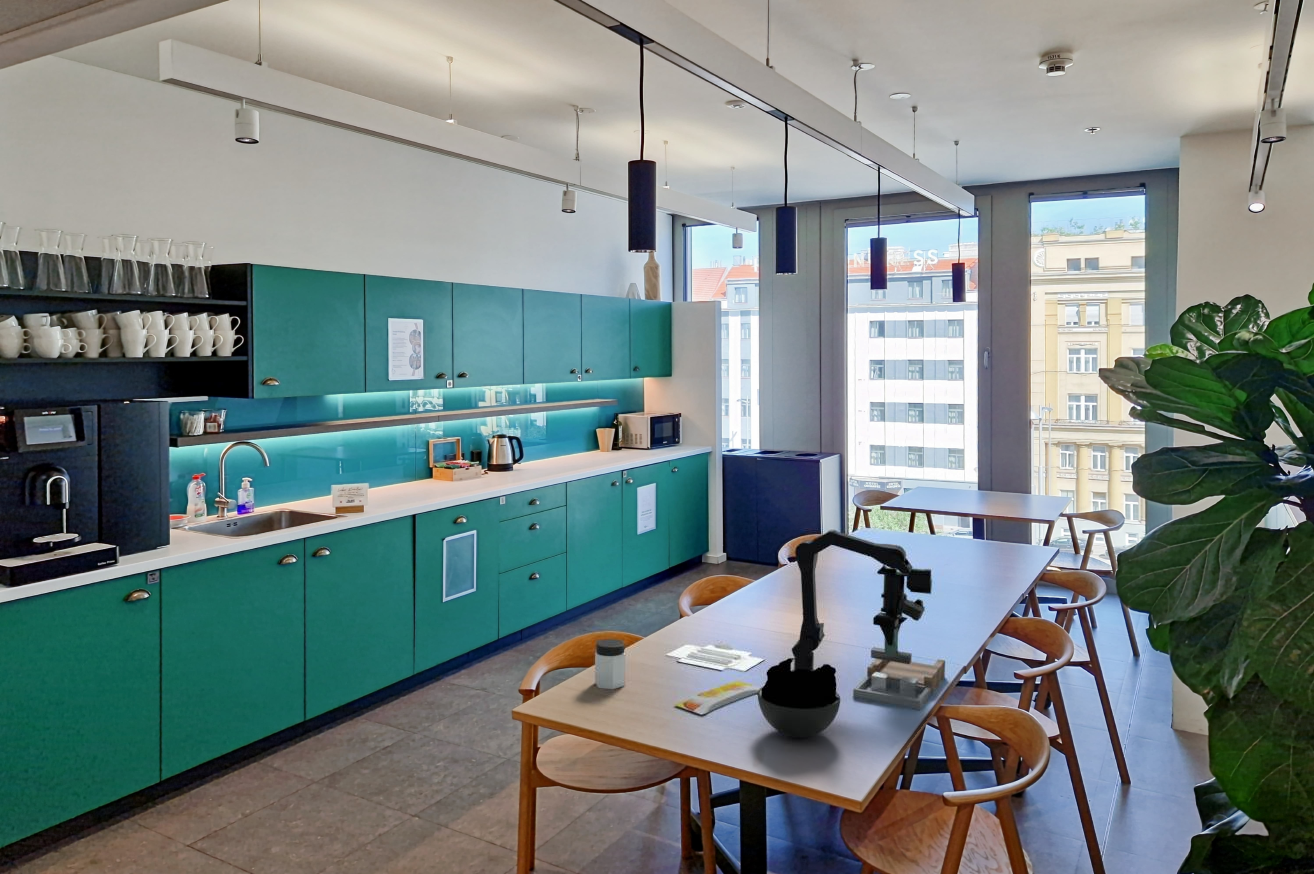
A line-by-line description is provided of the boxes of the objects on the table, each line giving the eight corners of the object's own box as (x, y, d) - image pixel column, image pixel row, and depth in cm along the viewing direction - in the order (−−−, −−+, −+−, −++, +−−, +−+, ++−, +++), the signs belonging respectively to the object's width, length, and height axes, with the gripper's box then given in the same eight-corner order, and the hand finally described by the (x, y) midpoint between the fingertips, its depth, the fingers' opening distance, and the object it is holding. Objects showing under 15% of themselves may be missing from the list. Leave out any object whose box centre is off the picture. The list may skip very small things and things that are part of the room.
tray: (740, 677, 264) (740, 664, 264) (659, 663, 279) (659, 652, 279) (769, 659, 282) (769, 647, 282) (692, 647, 296) (692, 636, 296)
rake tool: (908, 664, 254) (909, 632, 252) (870, 658, 259) (870, 626, 258) (911, 661, 256) (912, 629, 255) (873, 654, 262) (873, 623, 260)
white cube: (889, 687, 253) (885, 692, 249) (875, 685, 255) (871, 689, 251) (889, 673, 252) (885, 677, 249) (875, 671, 254) (871, 675, 251)
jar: (627, 688, 252) (627, 646, 251) (598, 690, 250) (599, 648, 249) (620, 678, 260) (621, 637, 259) (593, 680, 258) (593, 639, 257)
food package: (738, 676, 258) (765, 685, 251) (737, 684, 258) (765, 693, 251) (673, 700, 238) (701, 710, 231) (673, 708, 238) (701, 719, 231)
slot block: (930, 695, 249) (931, 677, 248) (867, 683, 258) (867, 666, 257) (944, 677, 264) (945, 660, 264) (883, 666, 273) (884, 650, 273)
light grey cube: (917, 692, 249) (914, 697, 245) (903, 690, 251) (899, 694, 247) (918, 678, 248) (914, 682, 245) (903, 676, 250) (900, 680, 247)
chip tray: (919, 710, 237) (919, 701, 237) (853, 697, 246) (853, 689, 246) (930, 695, 248) (931, 686, 248) (866, 684, 257) (866, 675, 257)
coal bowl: (740, 732, 221) (741, 657, 220) (794, 713, 234) (795, 642, 233) (802, 758, 206) (803, 678, 205) (856, 737, 219) (858, 661, 218)
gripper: (913, 600, 244) (911, 657, 245) (930, 587, 260) (928, 640, 261) (873, 595, 249) (871, 650, 250) (892, 582, 265) (890, 634, 266)
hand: (891, 643), depth 257 cm, fingers closed on rake tool, 3 cm apart
